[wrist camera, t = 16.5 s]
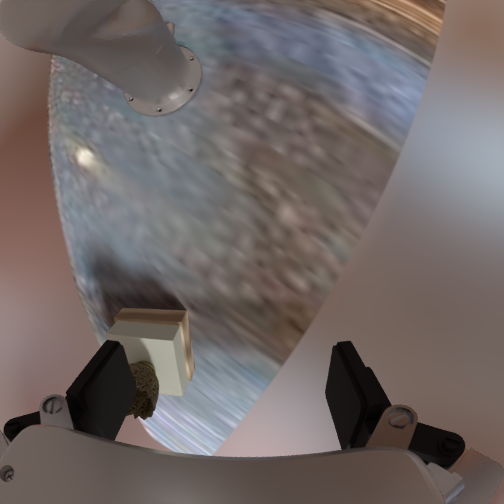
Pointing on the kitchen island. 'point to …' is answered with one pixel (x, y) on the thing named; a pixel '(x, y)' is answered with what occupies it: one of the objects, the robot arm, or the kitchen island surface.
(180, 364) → the tower top
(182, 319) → the box
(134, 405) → the dark brown tapered piece
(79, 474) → the robot arm
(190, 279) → the kitchen island surface
